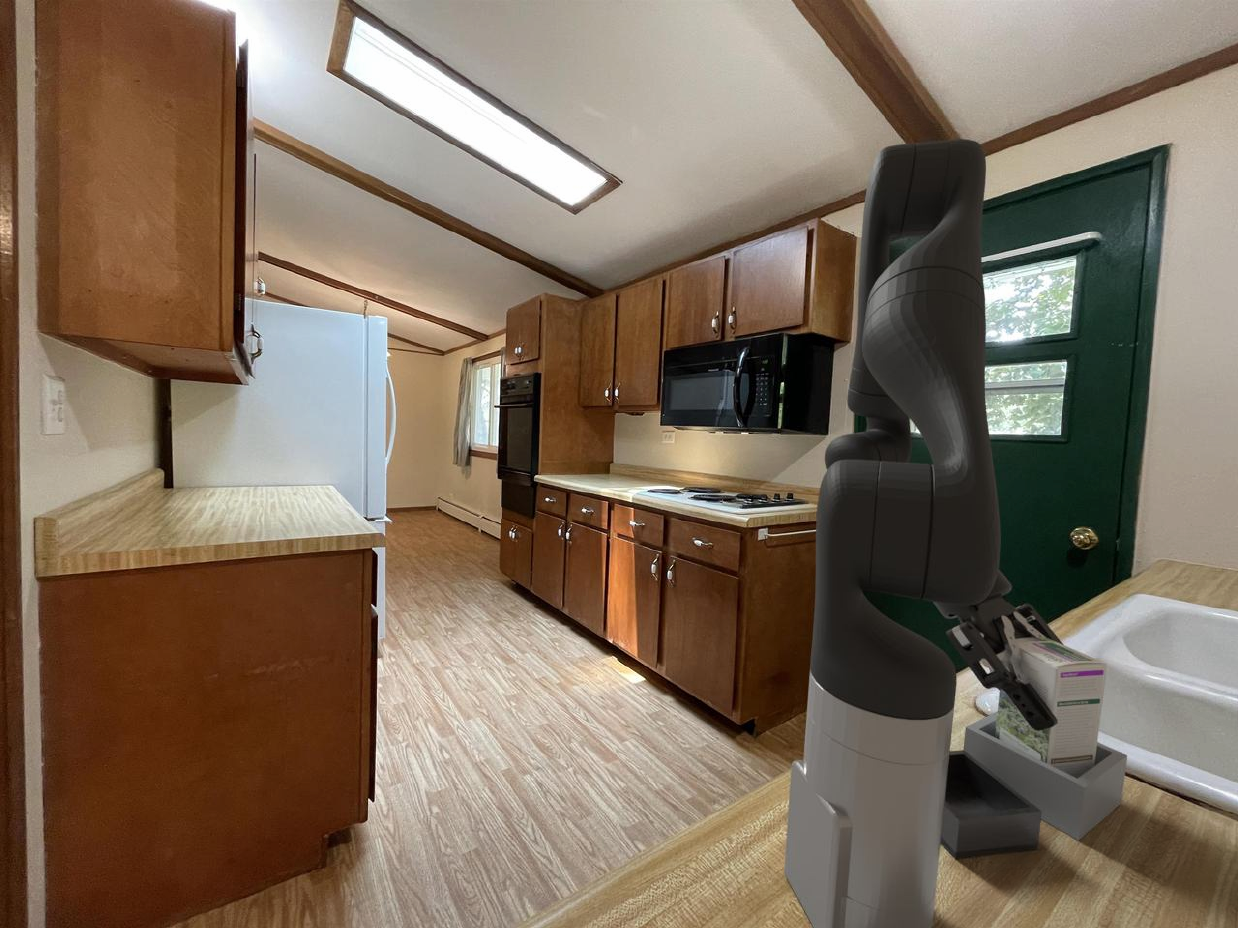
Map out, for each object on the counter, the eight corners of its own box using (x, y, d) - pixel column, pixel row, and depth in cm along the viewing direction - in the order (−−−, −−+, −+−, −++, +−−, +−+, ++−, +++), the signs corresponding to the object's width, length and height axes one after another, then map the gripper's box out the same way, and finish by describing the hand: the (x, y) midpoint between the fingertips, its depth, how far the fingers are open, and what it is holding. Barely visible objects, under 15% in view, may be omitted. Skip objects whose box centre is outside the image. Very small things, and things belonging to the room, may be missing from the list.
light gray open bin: (1078, 840, 44) (1085, 787, 44) (961, 772, 53) (965, 726, 52) (1120, 803, 49) (1127, 755, 48) (1006, 746, 57) (1011, 704, 57)
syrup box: (1093, 806, 48) (1112, 662, 47) (1040, 811, 47) (1057, 664, 46) (1036, 766, 54) (1051, 635, 53) (987, 769, 53) (1002, 637, 52)
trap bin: (955, 858, 42) (959, 819, 42) (889, 788, 50) (892, 755, 49) (1037, 849, 43) (1041, 811, 43) (960, 782, 51) (963, 749, 51)
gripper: (941, 556, 52) (1071, 725, 43) (1010, 544, 59) (1135, 687, 50) (888, 590, 57) (994, 748, 48) (957, 575, 64) (1062, 710, 55)
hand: (1066, 716), depth 49 cm, fingers closed on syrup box, 7 cm apart
